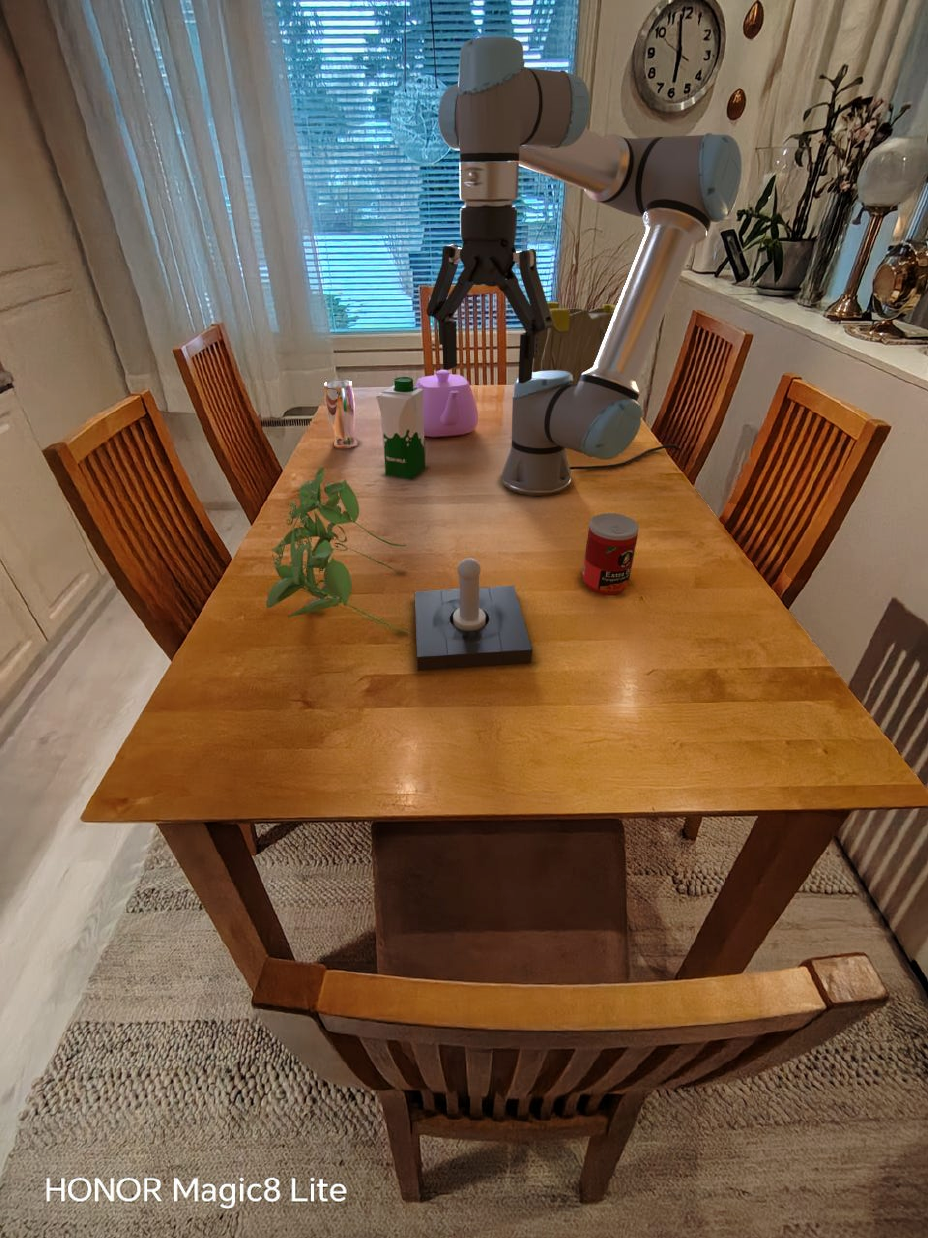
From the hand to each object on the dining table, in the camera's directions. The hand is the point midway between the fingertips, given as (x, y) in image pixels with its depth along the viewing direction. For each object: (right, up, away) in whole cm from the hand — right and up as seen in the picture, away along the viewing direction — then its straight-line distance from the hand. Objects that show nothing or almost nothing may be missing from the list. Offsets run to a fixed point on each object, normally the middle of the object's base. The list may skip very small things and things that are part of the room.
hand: (486, 374), depth 90 cm
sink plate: (-3, -39, -1) cm, 39 cm away
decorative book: (+25, +13, +68) cm, 74 cm away
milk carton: (-17, -3, +47) cm, 50 cm away
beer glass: (-34, +7, +61) cm, 70 cm away
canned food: (+20, -31, +10) cm, 39 cm away
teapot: (-8, +13, +69) cm, 70 cm away
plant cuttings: (-22, -35, +5) cm, 42 cm away
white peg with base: (-3, -39, -1) cm, 39 cm away
